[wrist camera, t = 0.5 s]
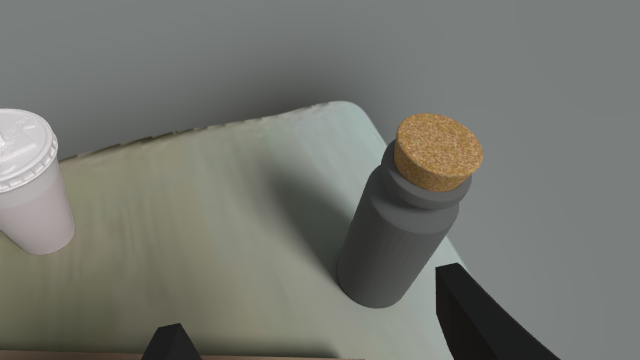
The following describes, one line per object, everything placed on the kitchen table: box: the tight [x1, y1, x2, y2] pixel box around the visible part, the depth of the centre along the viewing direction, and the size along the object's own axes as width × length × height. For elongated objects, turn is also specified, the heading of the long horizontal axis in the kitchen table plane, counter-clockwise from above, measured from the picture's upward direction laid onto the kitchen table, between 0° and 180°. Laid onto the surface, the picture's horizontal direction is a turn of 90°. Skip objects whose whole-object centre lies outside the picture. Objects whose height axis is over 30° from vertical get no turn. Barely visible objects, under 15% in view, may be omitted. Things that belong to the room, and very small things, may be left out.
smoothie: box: [0, 109, 75, 255], centre depth 26 cm, size 6×6×14 cm
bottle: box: [337, 113, 483, 308], centre depth 28 cm, size 6×6×15 cm
